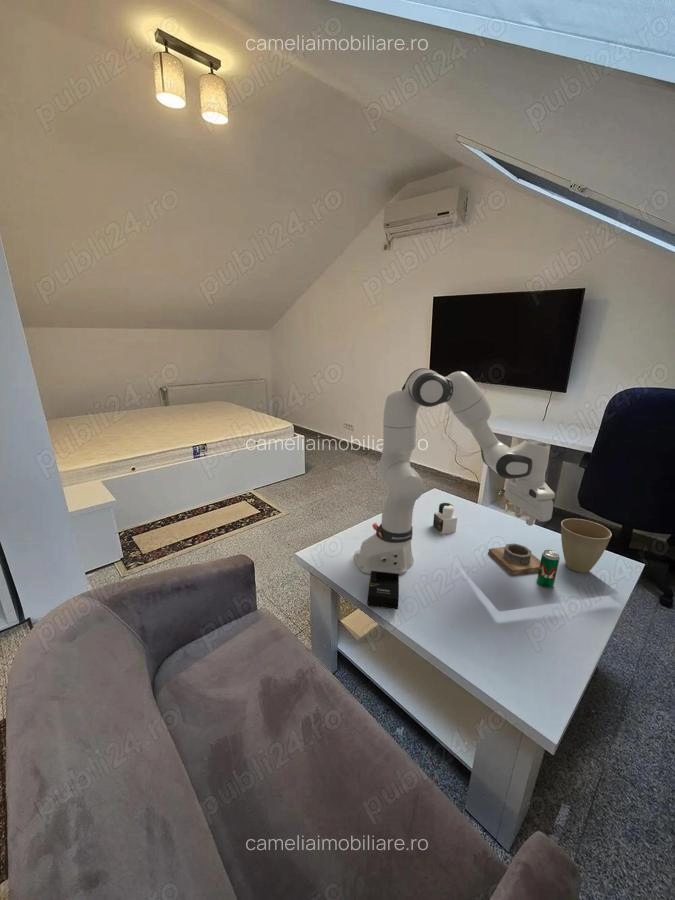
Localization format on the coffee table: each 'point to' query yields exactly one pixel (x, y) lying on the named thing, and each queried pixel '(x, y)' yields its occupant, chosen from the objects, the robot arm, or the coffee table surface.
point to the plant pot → (583, 543)
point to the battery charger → (383, 590)
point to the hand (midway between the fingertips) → (523, 520)
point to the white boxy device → (445, 519)
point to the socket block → (515, 559)
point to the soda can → (548, 568)
